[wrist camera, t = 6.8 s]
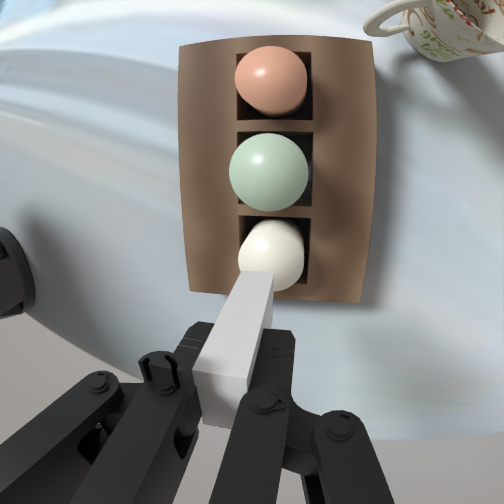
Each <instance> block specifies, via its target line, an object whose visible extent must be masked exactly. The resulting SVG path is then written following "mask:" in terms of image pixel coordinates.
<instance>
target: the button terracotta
mask: <svg viewBox="0 0 504 504" xmlns="http://www.w3.org/2000/svg"><path fill="white" fill-rule="evenodd" d="M235 84H236V88H237V90H238V92H239V94H240V95H241V96H242V98H243V99H244V100H245V101H247V102H248V103H249V104H250V105H251V106H253V107H254V108H255V109H256V110H257V111H259V112H260V113H262V114H264V115H267V116H271V117H283V116H287V115H290V114H292V113H294V112H295V111H297V110H298V109H299V108H300V107H301V105H302V104H303V102H304V100H305V97H306V90H307V72H306V68H305V66H304V64H303V62H302V61H301V59H300V58H299V57H298V56H297V55H296V54H294V53H293V52H291V51H290V50H288V49H285V48H282V47H277V46H265V47H260V48H257V49H255V50H253V51H251V52H249V53H248V54H247V55H245V56H244V57H243V58H242V60H241V61H240V62H239V64H238V66H237V69H236V72H235Z"/></svg>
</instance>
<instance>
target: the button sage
mask: <svg viewBox="0 0 504 504" xmlns="http://www.w3.org/2000/svg"><path fill="white" fill-rule="evenodd" d="M229 177H230V182H231V185H232V187H233V189H234V191H235V193H236V194H237V196H238V197H239V198H240V199H241V200H242V201H243V202H244V203H245V204H247V205H248V206H250V207H252V208H255V209H257V210H261V211H278V210H282V209H284V208H287V207H289V206H290V205H292V204H293V203H294V202H296V201H297V200H298V199H299V198H300V196H301V195H302V193H303V192H304V190H305V188H306V185H307V181H308V165H307V161H306V158H305V156H304V154H303V152H302V151H301V149H300V148H299V147H298V146H297V145H296V144H295V143H294V142H292V141H291V140H289V139H288V138H286V137H284V136H281V135H277V134H270V133H266V134H259V135H255V136H253V137H251V138H249V139H247V140H245V141H244V142H243V143H242V144H241V145H240V146H239V147H238V148H237V149H236V151H235V152H234V154H233V156H232V159H231V162H230V167H229Z"/></svg>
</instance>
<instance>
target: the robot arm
mask: <svg viewBox="0 0 504 504" xmlns="http://www.w3.org/2000/svg"><path fill="white" fill-rule="evenodd" d="M273 290H274V272H260V271H247V270H242V271H241V273H240V275H239V277H238V279H237V281H236V283H235V285H234V287H233V289H232V291H231V293H230V295H229V297H228V299H227V301H226V303H225V305H224V307H223V309H222V311H221V313H220V315H219V317H218V319H217V321H216V323H215V324H214V323H206V322H199V321H198V322H197V323H195V324H194V325H193V326H191V327H190V328H189V329H188V330H187V332H186V333H185V335H184V337H183V339H182V340H181V342H180V343H179V346H177V348H176V350H175V351H174V353H171V352H168V351H156V352H151V353H149V354H147V355H145V356H143V357H142V358H141V359H140V360H139V361H138V363H139V366H140V369H141V372H142V375H143V378H144V383H119V381H118V378H117V377H116V376H115V375H114V374H113V373H111V372H108V371H96V372H93V373H91V374H89V375H87V376H86V377H85V378H83V379H82V380H81V381H80V382H78V383H77V384H76V385H74V386H73V387H72V388H71V389H70V390H68V391H67V392H66V393H64V394H63V395H62V396H61V397H59V398H58V399H57V400H56V401H54V402H53V403H52V404H51V405H49V406H48V407H47V408H46V409H45V410H43V411H42V412H41V413H39V414H38V415H37V416H36V417H34V418H33V419H32V420H31V421H29V422H28V423H27V424H26V425H24V426H23V427H22V428H21V429H19V430H18V431H17V432H16V433H15V434H13V435H12V436H11V437H10V438H8V439H7V440H6V441H4V442H3V443H2V444H1V445H0V504H172V503H173V500H174V498H175V495H176V493H177V490H178V488H179V485H180V482H181V480H182V478H183V475H184V473H185V470H186V467H187V465H188V462H189V460H190V457H191V454H192V452H193V449H194V447H195V444H196V442H197V439H198V435H199V430H198V427H197V426H198V423H199V421H200V418H201V416H202V420H203V423H204V424H207V425H212V426H217V427H222V428H228V429H232V430H231V433H230V437H229V440H228V443H227V447H226V450H225V453H224V457H223V460H222V463H221V466H220V469H219V472H218V476H217V479H216V483H215V485H214V488H213V491H212V495H211V498H210V500H209V504H276V499H277V494H278V488H279V481H280V475H281V469H282V468H284V469H287V470H289V471H292V472H295V473H298V474H300V475H301V480H302V485H303V490H304V495H305V500H306V504H395V503H394V500H393V498H392V495H391V492H390V490H389V487H388V484H387V482H386V479H385V476H384V474H383V471H382V469H381V466H380V463H379V461H378V458H377V456H376V453H375V451H374V448H373V446H372V443H371V441H370V438H369V436H368V433H367V431H366V429H365V426H364V424H363V423H362V421H361V420H360V418H359V417H357V416H356V415H354V414H353V413H351V412H347V411H343V410H336V411H330V412H328V413H325V414H323V415H322V416H320V415H316V414H313V413H310V412H308V411H305V410H303V409H302V408H300V407H299V406H298V405H297V404H296V403H295V402H294V401H293V398H292V396H291V385H292V374H293V364H294V351H295V338H294V336H293V334H292V332H291V331H290V330H278V329H271V325H272V314H273ZM34 299H35V292H34V284H33V280H32V276H31V272H30V269H29V266H28V263H27V261H26V258H25V256H24V254H23V252H22V250H21V248H20V246H19V244H18V243H17V241H16V239H15V238H14V237H13V235H12V234H11V233H10V232H9V231H8V230H7V229H5V228H3V227H0V319H4V318H8V317H12V316H16V315H19V314H22V313H24V312H26V311H27V310H28V309H30V308H31V307H32V306H33V304H34ZM98 423H99V424H98ZM97 424H98V425H97Z"/></svg>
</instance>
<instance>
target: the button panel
mask: <svg viewBox="0 0 504 504" xmlns="http://www.w3.org/2000/svg"><path fill="white" fill-rule="evenodd" d="M265 46H277V47H282V48H285V49H288V50H290V51H291V52H293V53H294V54H296V55H297V56H298V57H299V58H300V59H301V61H302V62H303V64H304V66H310V71H311V107H312V120H247V118H246V101H245V100H244V99H243V98H242V96H241V95H240V94H239V92H238V90H237V88H236V84H235V72H236V69H237V66H238V64H239V62H240V61H241V60H242V58H243V57H244V56H245V55H247V54H248V53H249V52H251V51H253V50H255V49H257V48H260V47H265ZM266 133H270V134H303V135H312V162H311V198H299V199H298V200H297V201H296V202H294V203H293V204H292V205H290V206H289V207H287V208H284V209H282V210H278V211H261V210H257V209H255V208H252V207H250V206H248V205H247V204H245V203H244V202H243V201H242V200H241V199H240V198H239V197H238V196H237V194H236V193H235V191H234V189H233V187H232V185H231V182H230V177H229V167H230V162H231V159H232V156H233V154H234V152H235V151H236V149H237V148H238V147H239V146H240V145H241V144H242V143H243V142H244V141H245V140H247V134H266ZM178 142H179V169H180V189H181V204H182V218H183V231H184V242H185V252H186V262H187V271H188V280H189V289H190V291H194V292H204V293H214V294H225V295H230V293H231V291H232V289H233V287H234V285H235V283H236V281H237V279H238V277H239V275H240V273H241V271H240V269H239V264H238V255H239V251H240V248H241V246H242V244H243V243H244V241H245V240H246V238H247V237H248V216H277V217H300V218H310V224H309V242H308V258H307V266H304V267H303V271H302V274H301V276H300V277H299V279H298V280H297V281H296V282H295V283H294V284H293V285H292V286H290V287H289V288H287V289H284V290H281V291H275V292H273V298H274V299H289V300H306V301H325V302H348V303H360V299H361V293H362V288H363V282H364V276H365V270H366V263H367V256H368V249H369V242H370V233H371V224H372V215H373V204H374V191H375V175H376V149H377V110H376V85H375V70H374V58H373V48H372V41H365V40H358V39H350V38H340V37H328V36H310V35H269V36H251V37H239V38H229V39H221V40H213V41H207V42H200V43H195V44H189V45H184V46H179V67H178Z"/></svg>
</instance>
